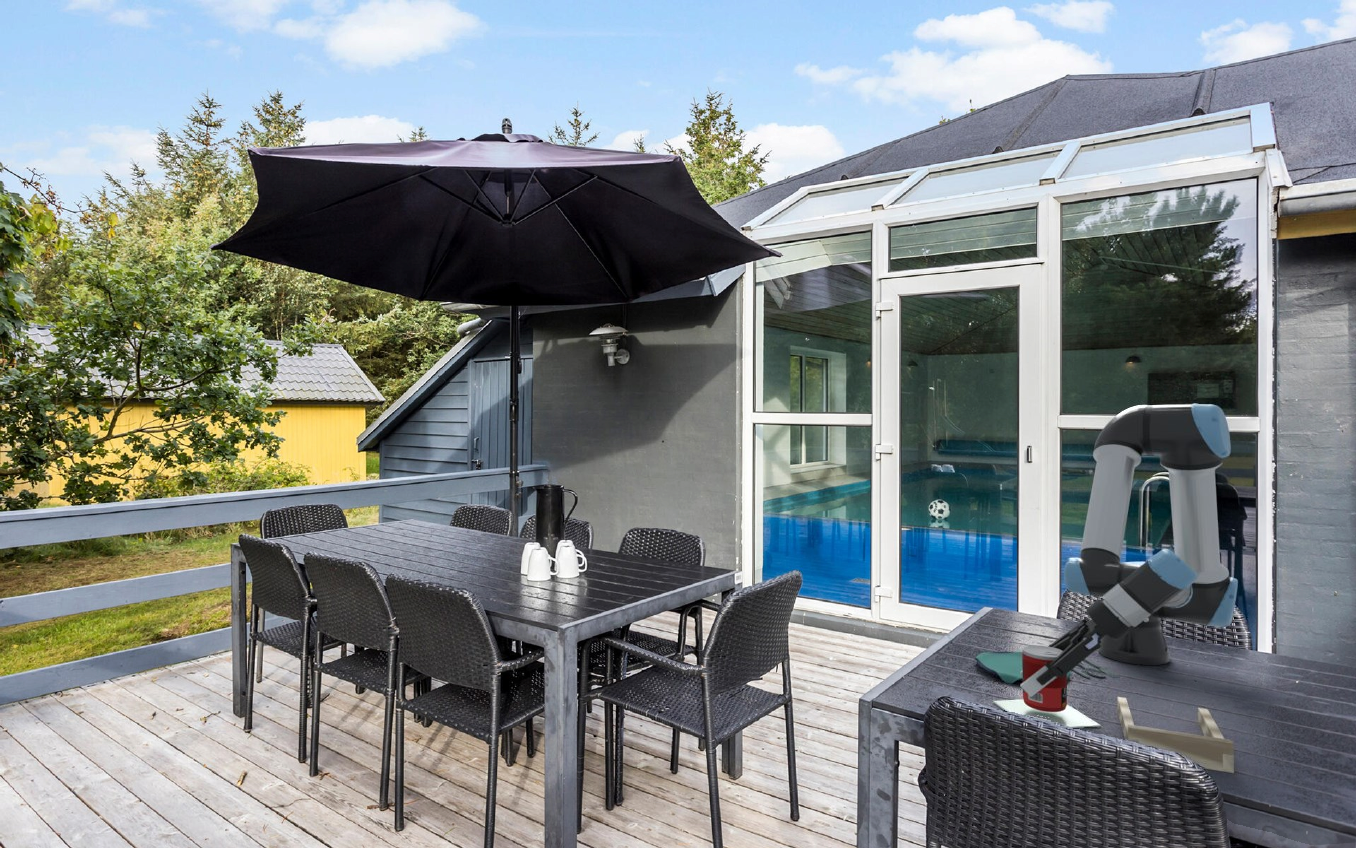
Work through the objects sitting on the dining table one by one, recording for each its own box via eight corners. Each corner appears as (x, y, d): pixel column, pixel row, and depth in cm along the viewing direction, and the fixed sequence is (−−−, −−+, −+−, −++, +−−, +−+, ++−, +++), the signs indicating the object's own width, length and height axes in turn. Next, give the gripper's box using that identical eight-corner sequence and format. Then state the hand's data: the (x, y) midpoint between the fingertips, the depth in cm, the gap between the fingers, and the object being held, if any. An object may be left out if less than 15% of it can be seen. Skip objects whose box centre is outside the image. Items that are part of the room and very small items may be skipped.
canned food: (1072, 714, 141) (1071, 658, 141) (1028, 711, 143) (1028, 656, 143) (1060, 699, 149) (1059, 646, 149) (1018, 696, 150) (1017, 644, 150)
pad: (1056, 699, 153) (1056, 697, 153) (1100, 727, 139) (1100, 725, 139) (993, 702, 152) (993, 701, 152) (1031, 731, 138) (1031, 729, 138)
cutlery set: (961, 659, 180) (961, 650, 180) (1077, 657, 182) (1077, 648, 182) (1002, 690, 160) (1002, 679, 160) (1131, 687, 162) (1131, 677, 162)
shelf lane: (1117, 711, 147) (1117, 686, 147) (1207, 724, 140) (1207, 698, 140) (1129, 755, 128) (1128, 727, 128) (1234, 773, 121) (1233, 743, 121)
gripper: (1140, 643, 130) (1041, 717, 137) (1126, 615, 148) (1039, 682, 155) (1106, 610, 132) (1010, 685, 139) (1096, 587, 151) (1012, 654, 158)
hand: (1025, 683), depth 147 cm, fingers closed on canned food, 8 cm apart
